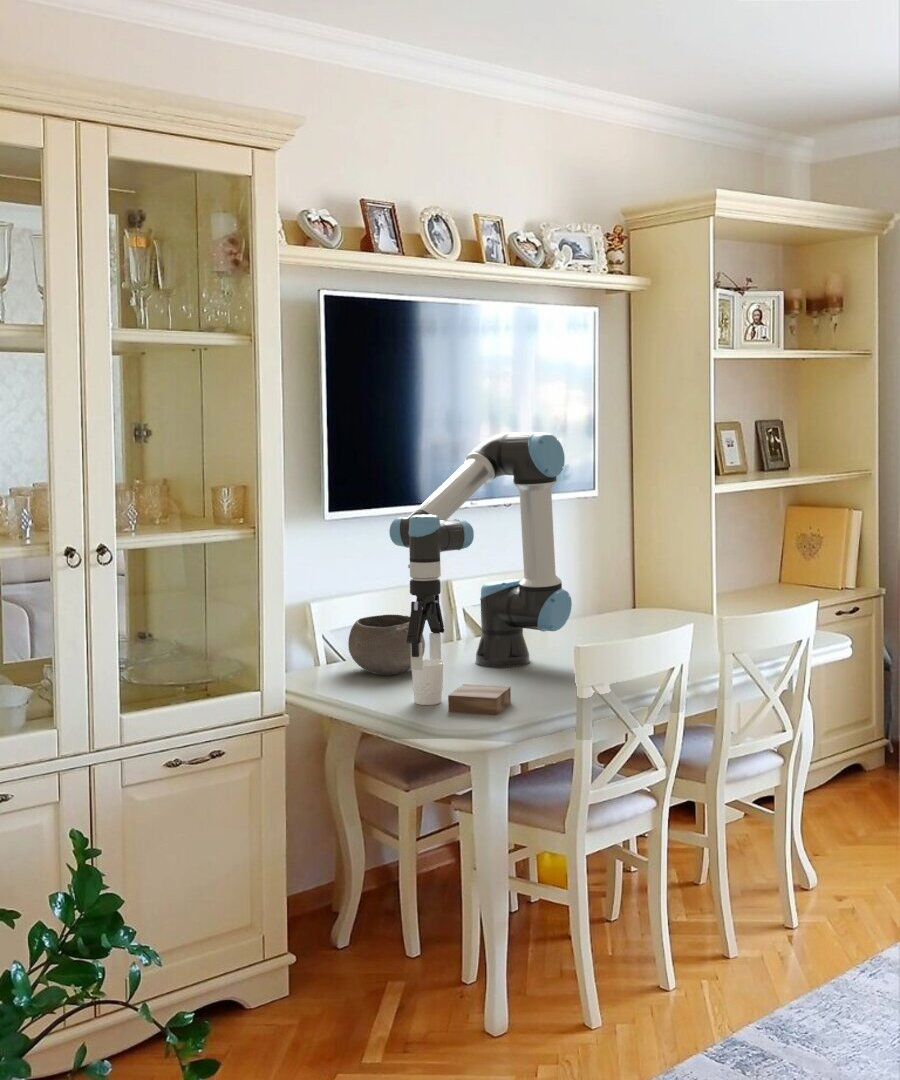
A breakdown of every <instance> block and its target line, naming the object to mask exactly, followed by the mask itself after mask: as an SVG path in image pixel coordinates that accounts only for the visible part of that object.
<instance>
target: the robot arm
mask: <svg viewBox="0 0 900 1080" xmlns="http://www.w3.org/2000/svg"><path fill="white" fill-rule="evenodd" d="M565 461H566V460H565V451H564V447H563V446H562V443H561V442H560V440H559V439H558V438H557V437H556V436H555V435H554V434H551V433H549V432H548V433H547V432H539V431H534V432H533V431H532V432H531V431H530V432H528V431H527V432H524V431H523V432H509V431H508V432H503V433H499V434H496V435H494V436H491V437H489V438H488V439H486V440H485V441H483V442H481V443H480V444H479V445H478V446H476V447H475V448H474V449H473V450H472V451H470V452H469V454H468V455H466V457H465V459H464V462H463V463H464V464H462V465H461V466H460V467H459V468H458V469H457V470H456V471H455V472H454V473H453V474H451V476H449V478H448V479H447V480H445V482H443V483H442V485H440V486H439V487H438V488H437V489H436V490H435V491H434V492H433V493H431V495H430V496H429V497H428V498H426V500H424V501H423V502H422V504H420V505H419V506H418V507H417V508H416V509H415V510H414V511H413V512H412V513H411V514H410V515H409V516H408V517H406V516H402V517H397V518H395V519H394V520H393V521H392V522H391V524H390V525H389V530H388V532H389V533H388V534H389V538H390V540H391V542H392V544H394V545H396V546H397V547H404V548H408V549H409V564H408V565H407V568H408V569H409V577H410V578H411V579H410V580H409V594H410V595H412V596H415V597H416V599H415V600H416V601H411V602H410V603H411V604H410V621H409V628H408V635H407V643H411V669H410V670H411V671H412V670H423V663H422V659H423V657H422V643H420V642H421V638H422V634H423V633H424V630H425V629H424V628H425V625H426V622H427V624H428V627H429V629H430V632H429V659H436V660H441V659H442V653H441V652H442V650H441V648H442V644H441V643H442V641H441V640H442V639H441V638H442V636H441V635H442V634H444V633H445V626H444V620H443V615H442V609H441V604H440V594H441V590H442V589H441V587H442V584H441V583H442V582H441V580H440V578H441V576H442V575H441V574H442V573H441V570H442V569H441V568H442V567H441V553H442V552H443V553H444V552H449V551H461V550H463V549H467V548H469V547H470V546H472V545H471V544H472V543H473V541H474V539H475V533H474V532H475V531H474V529H473V528H474V527H473V526H472V524H471V523H470V522H469V521H468V520H466V519H451V520H450V519H449V518H450V517H451V516H453V514H455V513H456V512H457V511H458V509H460V508H461V507H462V506H463V505H464V503H465V504H466V502H467V501H468V500H470V498H471V497H472V496H473V495H474V494H475V493H476V492H477V491H478V490H480V488H481V487H482V486H483V485H487V484H490V483H491V482H492V481H493V480H494V479H496V478H499V477H502V476H512V482H513V485H514V486H515V487H516V488H517V489H518V490H519V506H520V507H519V509H520V525H521V526H520V527H521V541H522V542H521V543H522V544H521V545H522V560H523V561H522V562H523V577H522V578H521V579H519V578H518V579H515V578H514V579H505V580H495V581H490V582H485V583H484V584H483V585H482V586H481V589H480V599H479V600H480V623H481V625H480V626H481V636H480V640H479V643H478V646H477V649H476V653H475V664H477V665H479V666H484V667H488V668H489V667H490V668H509V667H510V668H511V667H512V668H513V667H520V666H524V665H527V664H529V663H530V652H529V648H528V646H527V643H526V640H525V637H524V629H526V630H535V631H540V632H557V631H560V630H561V629H562V628H563V627H564V626H566V624H567V621H568V620H569V619H570V615H571V613H572V607H573V606H572V605H573V604H572V596H571V595H570V593H569V591H567V590H566V589H563V587H562V585H563V584H562V579H560V577H558V576H557V574H556V572H557V571H556V558H555V557H556V556H555V555H556V554H555V536H554V533H555V532H554V519H553V518H554V517H553V497H552V488H553V486H554V485H555V484H556V483H557V477H558V476H559V475H560V474H561V473H562V471H563V470H564V469H563V467H564V465H565ZM423 635H424V634H423Z"/></svg>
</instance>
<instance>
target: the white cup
mask: <svg viewBox="0 0 900 1080" xmlns="http://www.w3.org/2000/svg"><path fill="white" fill-rule="evenodd" d="M422 663H423V670H411V678H412V679H411V681H412V690H413V700H414V701H413V702H414V704H416V705H422V706H433V705H438V704H442V701H443V690H444V689H443V684H444V677H443V676H444V661H443V660H441V659H440V660H438V659H430V658H422Z"/></svg>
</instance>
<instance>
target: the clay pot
mask: <svg viewBox="0 0 900 1080" xmlns="http://www.w3.org/2000/svg"><path fill="white" fill-rule="evenodd" d="M409 621H410V616H409V615H403V614H379V615H372V616H366V617H365V616H364V617H360V618H358V619H357V620H356V621H355V622H354V624H353V626H351V629H350V632H349V636H348V641H347V643H348V651H349V655H350V656H351V659H352V660H353V661H354V662H355V663H356V664H357V665H358V666H359V667H361V669H363V670H364V671H367V672H369V673H372V674H376V675H380V676H389V675H391V676H392V675H398V674H401V673H405V672H407V671H409V670H411V643H407V635H408V628H409ZM420 643H422V658H423V657H424V655H425V650H426V642H425V637H424V634H422V638H421V642H420Z"/></svg>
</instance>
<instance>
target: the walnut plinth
mask: <svg viewBox="0 0 900 1080" xmlns="http://www.w3.org/2000/svg"><path fill="white" fill-rule="evenodd" d="M511 690H512V689H511V686H503V685H500V686H499V685H483V684H462V685H460V686H459V687H457V689H455V690H453V691H452V692H451V693H450V694H448V695H447V697H448V698H447V699H448V700H447V701H448V706H447V707H448V713H461V714H476V715H479V714H480V715H490V716H491V715H494V716H496V715H497V716H498V715H499V714H500V713H501V712H502V711H503V710H504V709H505V708H506V707H508V706H509V705H510V704H511V703H512V701H511V699H512V698H511V694H512V693H511Z"/></svg>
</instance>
